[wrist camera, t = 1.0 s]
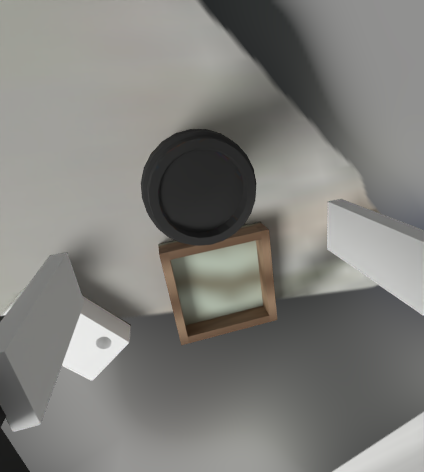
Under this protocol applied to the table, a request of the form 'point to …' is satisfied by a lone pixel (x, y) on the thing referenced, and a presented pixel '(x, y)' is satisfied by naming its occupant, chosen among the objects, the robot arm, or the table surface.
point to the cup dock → (220, 283)
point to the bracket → (93, 339)
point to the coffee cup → (198, 187)
